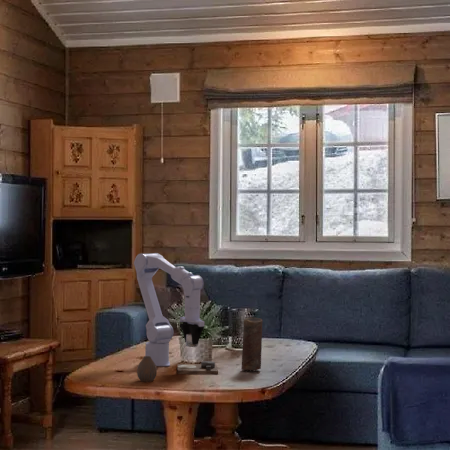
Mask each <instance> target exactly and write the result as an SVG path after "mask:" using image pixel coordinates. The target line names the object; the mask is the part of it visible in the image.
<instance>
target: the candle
mask: <svg viewBox="0 0 450 450" xmlns="http://www.w3.org/2000/svg"><path fill="white" fill-rule="evenodd" d="M263 322H264V321H263V319H262V318H259V317H247V318H246V317H245V318H244V319H243V328H242V329H243V330H242V332H243V334H242V351H241V370H242V371H247V372H256V371H258V370H261V369H262V346H263V345H262V344H263V343H262V342H263V341H262V340H263Z"/></svg>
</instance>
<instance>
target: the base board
mask: <svg viewBox="0 0 450 450" xmlns="http://www.w3.org/2000/svg"><path fill="white" fill-rule="evenodd" d="M177 375H219V369H218V365H217V364H216V362H215V361H212V360H207V361H206V360H203V361H201V362H200V363H196V364H195V363H193V364H192V363H177Z"/></svg>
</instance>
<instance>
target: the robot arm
mask: <svg viewBox="0 0 450 450" xmlns="http://www.w3.org/2000/svg"><path fill="white" fill-rule="evenodd" d="M133 266H134V269H135V272H136V279H137V282H138V283H137V284H138V286H139V290H140V292H141V293H140V294H141V296H142V300H143V302H144V306H145V310H146V312H147V317H148V321H147V323H146V324H145V329H146V332H145V333H146V338H147V340H148V341H147V342H145V346H144V347H145V350H144V351H145V352H144V356H150V357H151V359H152V360H153V362H154V363H155V365H156V367H170V366H171V361H170V342H171V340H172V339H173V338H174V332H175V331H174V328H173V326H172V325H171V323H170V321H169V319H168V318H167V317H165V316H163V315H164V314H162V313H163V312H162V309H161V306H160V302H159V299H158V295H157V293H156V288H155V286H154V282H153V276H155V274H156V273H157V272H158V271H159V269H160V270H162V271H164V272H165V273H167V274H169V275H170V278H171V279H172V280H173V281H174V282H176V283H178V284H179V285H181V287H182V289H183V294H184V316H179V322H180V324H179V327H180V329H181V331H182V335H183V339H184V342H185V343H186V334H189V333H191V335H192V344H193V345H195V344H198V345H199V341H200V338H201V336H202V333H203V331H204V329H205V320H202V319H201V318H200V316H201V315H200V314H201V290H202V289H203V288H204V285H205V283H204V279H203V277H202V276H200V274H193V272H191V271H190V272H189V271H188V270H186V269H185V266H181V265H180V266H175V265H173V264H172V263H171V262H169V261H168V260H167V259H165V257H164V256H163V255H162V254H160V253H158V252H154V253H138V254H137V255H136V257H135V259H134V261H133Z"/></svg>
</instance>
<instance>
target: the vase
mask: <svg viewBox="0 0 450 450" xmlns="http://www.w3.org/2000/svg"><path fill="white" fill-rule="evenodd" d="M157 371H158V369H157V366H156V365H155V363H154V362H153V360H152V359H151V357H150V356H145V355H144V356H143V358H142V359H141V361H140V362H139V363H138V365H137V369H136V373H137V374H136V375H137V378H138V379H139V381H140V382H142V383H151V382H153V381H155V379H156V376H157Z"/></svg>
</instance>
